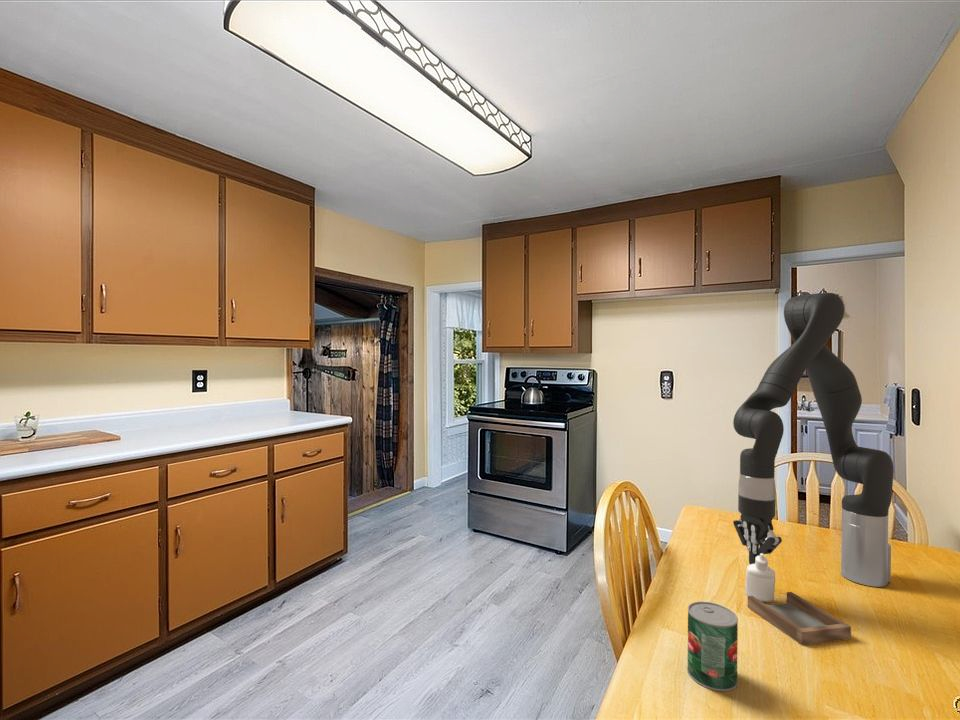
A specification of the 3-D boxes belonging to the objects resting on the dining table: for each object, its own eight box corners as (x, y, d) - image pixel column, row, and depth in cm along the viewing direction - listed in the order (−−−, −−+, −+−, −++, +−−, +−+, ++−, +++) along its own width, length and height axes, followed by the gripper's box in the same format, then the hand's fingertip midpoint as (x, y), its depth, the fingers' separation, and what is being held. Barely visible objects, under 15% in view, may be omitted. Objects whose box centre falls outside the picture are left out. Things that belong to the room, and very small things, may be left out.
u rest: (791, 602, 108) (791, 591, 108) (850, 639, 94) (851, 626, 94) (747, 607, 106) (747, 596, 106) (801, 645, 92) (802, 632, 92)
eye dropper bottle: (767, 608, 106) (770, 566, 102) (742, 594, 111) (744, 552, 107) (776, 597, 109) (780, 555, 105) (751, 584, 113) (753, 543, 109)
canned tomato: (747, 690, 79) (748, 625, 79) (702, 692, 78) (703, 626, 78) (720, 660, 87) (720, 600, 87) (678, 662, 86) (679, 602, 86)
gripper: (794, 502, 105) (793, 580, 105) (749, 486, 118) (749, 555, 118) (764, 503, 104) (763, 582, 104) (723, 487, 117) (722, 557, 117)
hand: (755, 568), depth 111 cm, fingers closed
